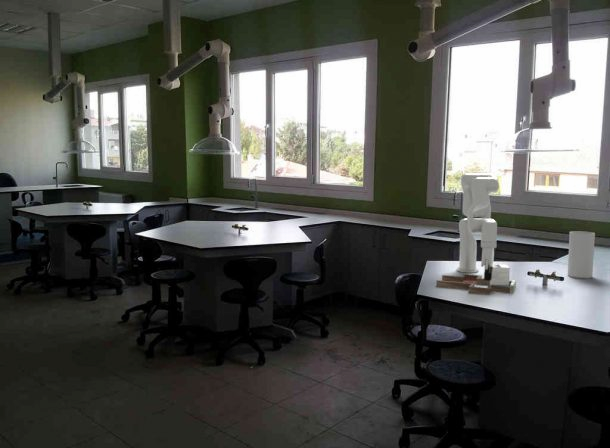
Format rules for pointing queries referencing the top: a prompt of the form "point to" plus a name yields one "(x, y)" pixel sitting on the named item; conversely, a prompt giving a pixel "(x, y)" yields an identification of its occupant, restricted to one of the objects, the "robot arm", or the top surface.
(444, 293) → the top surface
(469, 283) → the trap lane
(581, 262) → the cylinder vase
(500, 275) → the ink box
